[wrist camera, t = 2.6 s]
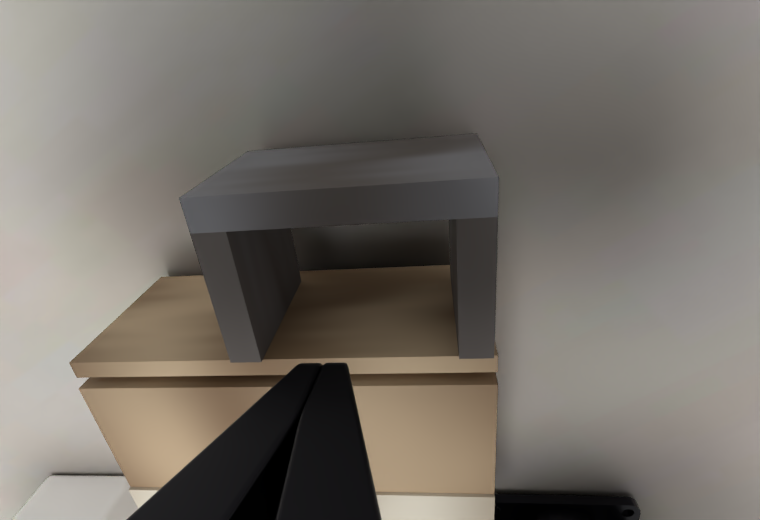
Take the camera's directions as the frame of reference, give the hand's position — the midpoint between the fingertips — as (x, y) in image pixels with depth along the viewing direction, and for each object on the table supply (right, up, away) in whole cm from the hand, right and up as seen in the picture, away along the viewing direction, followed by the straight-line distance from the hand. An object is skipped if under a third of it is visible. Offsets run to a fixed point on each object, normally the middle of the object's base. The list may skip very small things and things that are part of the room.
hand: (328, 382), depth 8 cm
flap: (-2, +3, +7) cm, 8 cm away
